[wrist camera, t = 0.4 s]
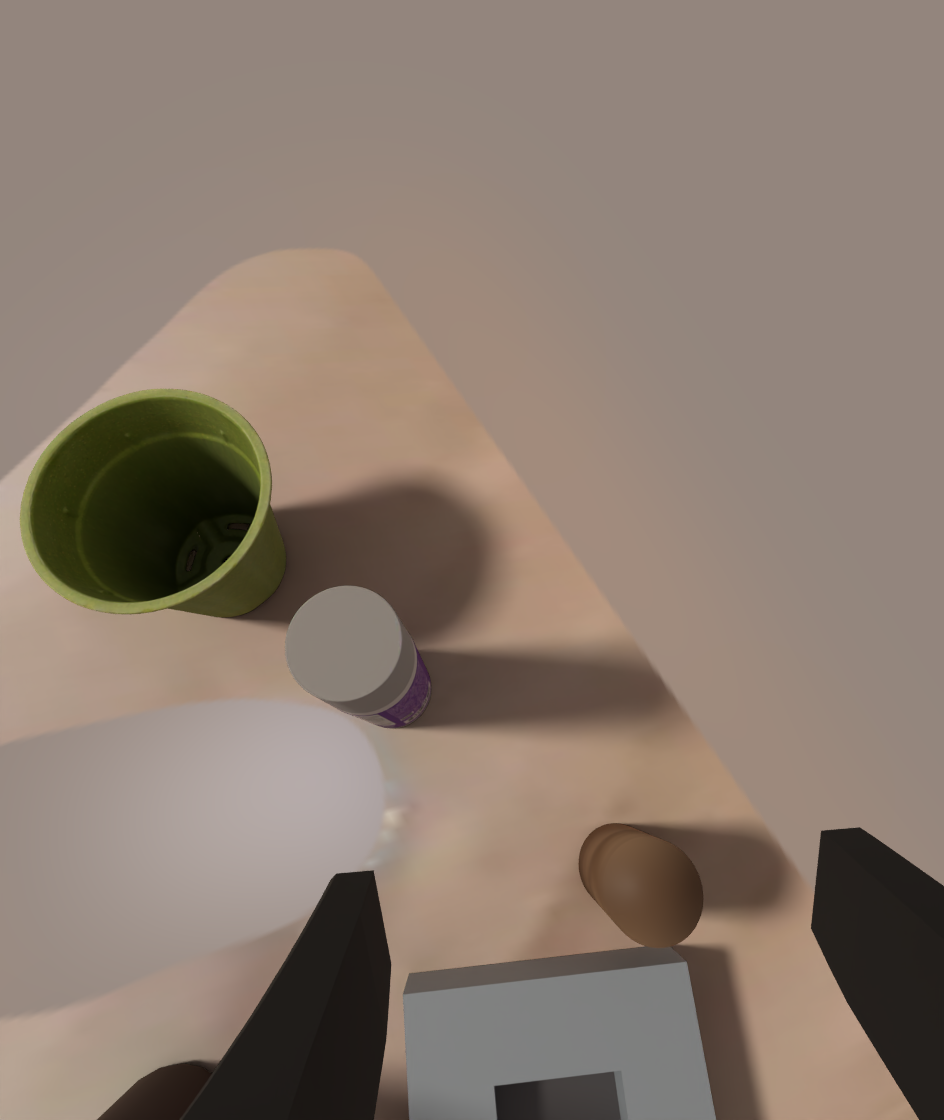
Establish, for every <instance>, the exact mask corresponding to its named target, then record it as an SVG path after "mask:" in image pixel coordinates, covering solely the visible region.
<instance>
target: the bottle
mask: <svg viewBox="0 0 944 1120" xmlns="http://www.w3.org/2000/svg"><path fill="white" fill-rule="evenodd" d="M211 1074H212V1073H210V1072H209V1071H207V1070H206V1069H204V1068H203V1067H199V1066H194V1065H189V1064H184V1063H182V1064H177V1065H171V1066H166V1067H161V1068H159V1069H157V1070H155V1071H154V1072H152V1073H150V1074H148V1075H147V1076H145V1077H143V1078H141V1079H140V1080H138V1081H137V1082H136V1083H135V1084H134V1085H133V1086H132V1087H131V1088H130V1089H129V1090H128V1091H127V1092H126V1093H125V1094H124V1095H123V1096H121V1097H120V1098H119V1099H118V1100H117V1101H116V1102H115V1103H114V1104H113V1105H112V1106H111V1107H110V1108H109V1109H108V1110H107V1111H106V1112H105V1113H104V1114H102V1115H101V1116H100V1117H99V1118H98V1119H97V1120H180V1118H181V1117H182V1116H183V1114H184V1113H185V1111H186V1110H187V1109H188V1107H189V1106H190V1104H191V1103H192V1102H193V1100H194V1099H195V1097H196V1096H197V1095H198V1093H199V1092H200V1090H201V1089H202V1088H203V1086H204V1085H205V1083H206V1082H207V1080H208V1079H209V1077H210V1076H211Z"/></svg>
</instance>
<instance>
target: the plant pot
mask: <svg viewBox="0 0 944 1120" xmlns="http://www.w3.org/2000/svg"><path fill="white" fill-rule="evenodd" d="M271 491H272V476H271V468H270V463H269V459H268V456H267V453H266V450H265V447H264V445H263V443H262V441H261V439H260V437H259V436H258V434H257V433H256V431H255V430H254V428H253V427H252V426H251V425H250V423H249V422H248V421H247V420H246V419H245V418H244V417H243V416H242V415H241V414H239V413H238V412H237V411H236V410H234V409H233V408H231V407H230V406H228V405H227V404H225V403H223V402H221V401H219V400H217V399H215V398H212V397H210V396H207V395H204V394H201V393H197V392H193V391H187V390H180V389H151V390H143V391H138V392H134V393H130V394H126V395H123V396H120V397H117V398H114V399H111V400H109V401H107V402H105V403H103V404H101V405H99V406H97V407H95V408H93V409H91V410H90V411H88V412H86V413H85V414H83V415H82V416H80V417H79V418H77V419H76V420H75V421H73V422H72V423H71V424H69V425H68V426H67V427H66V428H65V429H64V430H63V431H61V432H60V433H59V434H58V435H57V437H56V438H55V439H54V440H53V441H52V442H51V443H50V444H49V445H48V446H47V448H46V449H45V450H44V452H43V453H42V455H41V456H40V458H39V459H38V461H37V463H36V464H35V466H34V468H33V470H32V472H31V474H30V476H29V478H28V481H27V484H26V487H25V490H24V494H23V498H22V502H21V512H20V528H21V536H22V541H23V545H24V548H25V551H26V554H27V556H28V558H29V560H30V562H31V564H32V566H33V568H34V569H35V571H36V572H37V573H38V575H39V576H40V577H41V578H42V580H43V581H44V582H45V583H46V584H47V585H48V586H49V587H51V588H52V589H53V590H54V591H55V592H57V593H58V594H59V595H61V596H62V597H64V598H65V599H67V600H69V601H71V602H73V603H75V604H77V605H79V606H82V607H85V608H88V609H91V610H95V611H99V612H105V613H112V614H141V613H148V612H154V611H158V610H163V609H166V608H168V609H174V610H180V611H185V612H191V613H197V614H202V615H208V616H214V617H234V616H238V615H243V614H245V613H248V612H250V611H252V610H254V609H255V608H256V607H258V606H259V605H260V604H262V603H263V602H264V601H265V600H266V599H268V598H269V597H270V596H271V595H272V594H273V593H274V592H275V591H276V589H277V588H278V586H279V584H280V582H281V580H282V578H283V575H284V572H285V567H286V552H285V547H284V543H283V540H282V537H281V534H280V532H279V529H278V526H277V523H276V520H275V517H274V514H273V511H272V508H271V505H270V500H271ZM230 523H244V524H249V527H248V529H247V530H248V531H245V530H240V529H229V530H227V528H228V524H230ZM197 532H198V533H197ZM199 535H200V537H199ZM193 549H195V550H196V551H197V554H196V556H195V558H194V562H193V564H192V566H191V568H192V570H190V571H186V566H187V560H188V556H189V554H190V552H191V550H193ZM227 557H229V559H228V560H227V561H226V562H225V563H224V560H225V559H226V558H227Z"/></svg>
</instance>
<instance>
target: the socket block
mask: <svg viewBox="0 0 944 1120" xmlns="http://www.w3.org/2000/svg"><path fill="white" fill-rule="evenodd" d="M403 1005H404V1025H405V1045H406V1065H407V1084H408V1104H409V1120H716V1116H715V1111H714V1106H713V1100H712V1095H711V1090H710V1084H709V1079H708V1073H707V1068H706V1063H705V1057H704V1052H703V1046H702V1041H701V1036H700V1030H699V1025H698V1020H697V1014H696V1009H695V1003H694V998H693V993H692V987H691V982H690V976H689V971H688V966H687V961H685V960H684V959H683V958H682V957H681V956H680V955H679V954H678V953H677V952H676V951H675V950H674V949H672V948H671V947H666V948H652V947H638V948H630V949H621V950H612V951H603V952H595V953H586V954H577V955H569V956H560V957H551V958H542V959H534V960H525V961H516V962H508V963H499V964H490V965H481V966H473V967H464V968H455V969H447V970H438V971H429V972H420V973H412V974H409V976H408V979H407V983H406V986H405V989H404V993H403Z"/></svg>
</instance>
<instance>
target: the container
mask: <svg viewBox="0 0 944 1120" xmlns="http://www.w3.org/2000/svg"><path fill="white" fill-rule="evenodd" d="M285 656H286V661H287V665H288V667H289V670H290V672H291V674H292V676H293V677H294V679H295V680H296V682H297V683H298V684H299V685H300V686H301V687H302V688H303V689H304V690H306V691H307V692H308V693H310V694H312V695H313V696H315V697H317V698H319V699H321V700H322V701H324V702H326V703H328V704H330V705H332V706H333V707H335V708H337V709H339V710H340V711H342V712H345V713H347V714H350V715H352V716H355V717H358V718H360V719H363V720H365V721H368V722H370V723H373V724H375V725H378V726H381V727H385V728H400V727H403V726H406V725H408V724H410V723H412V722H414V721H415V720H416V719H418V718H419V717H420V716H421V715H422V713H423V712H424V711H425V709H426V707H427V705H428V703H429V700H430V696H431V680H430V676H429V673H428V671H427V669H426V667H425V665H424V662H423V660H422V658H421V656H420V654H419V652H418V650H417V648H416V646H415V643H414V641H413V639H412V637H411V636H410V634H409V633H408V631H407V630H406V628H405V627H404V625H403V623H402V622H401V620H400V619H399V617H398V615H397V614H396V612H395V611H394V609H393V608H392V606H391V605H390V604H389V603H388V602H387V601H386V600H385V599H384V598H383V597H381V596H380V595H379V594H377V593H375V592H373V591H371V590H369V589H366V588H363V587H358V586H337V587H333V588H329V589H326V590H324V591H322V592H320V593H318V594H316V595H314V596H313V597H312V598H310V599H309V600H308V601H306V602H305V603H304V604H303V605H302V606H301V607H300V609H299V610H298V611H297V612H296V614H295V615H294V617H293V619H292V621H291V623H290V625H289V628H288V631H287V634H286V640H285Z"/></svg>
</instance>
